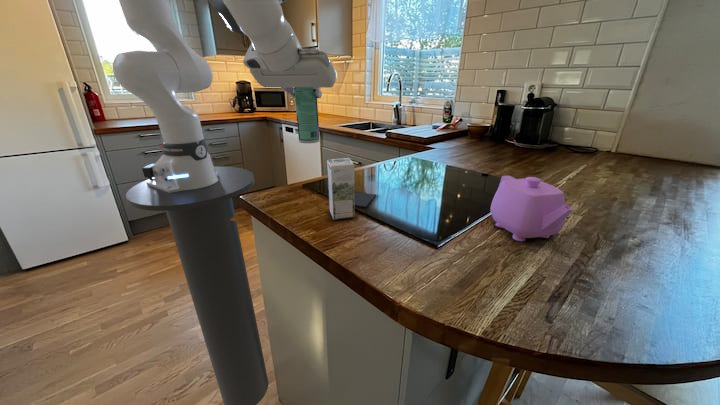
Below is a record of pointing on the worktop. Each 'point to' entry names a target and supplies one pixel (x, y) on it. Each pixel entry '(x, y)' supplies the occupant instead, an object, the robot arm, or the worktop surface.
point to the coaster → (363, 199)
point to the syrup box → (341, 188)
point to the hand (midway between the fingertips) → (307, 96)
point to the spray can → (307, 115)
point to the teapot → (529, 208)
